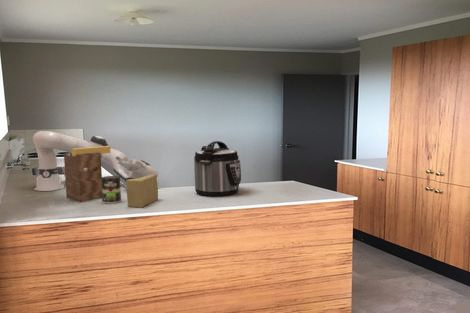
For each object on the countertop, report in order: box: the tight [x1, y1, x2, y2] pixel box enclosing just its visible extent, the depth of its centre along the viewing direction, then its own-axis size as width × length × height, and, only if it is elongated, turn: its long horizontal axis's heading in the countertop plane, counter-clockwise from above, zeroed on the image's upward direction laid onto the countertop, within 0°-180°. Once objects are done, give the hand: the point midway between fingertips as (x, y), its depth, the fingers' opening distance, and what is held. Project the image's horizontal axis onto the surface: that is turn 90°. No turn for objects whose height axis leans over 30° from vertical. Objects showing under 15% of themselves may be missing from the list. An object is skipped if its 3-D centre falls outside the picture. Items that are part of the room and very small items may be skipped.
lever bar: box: [72, 145, 111, 156], centre depth 259 cm, size 22×4×4 cm, turn 135°
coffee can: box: [101, 175, 122, 204], centre depth 249 cm, size 10×10×14 cm
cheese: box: [125, 174, 159, 209], centre depth 243 cm, size 22×10×15 cm, turn 157°
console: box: [63, 152, 103, 203], centre depth 260 cm, size 14×19×27 cm
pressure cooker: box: [193, 140, 242, 197], centre depth 268 cm, size 30×28×32 cm
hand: (120, 157), depth 273 cm, fingers open, 8 cm apart
